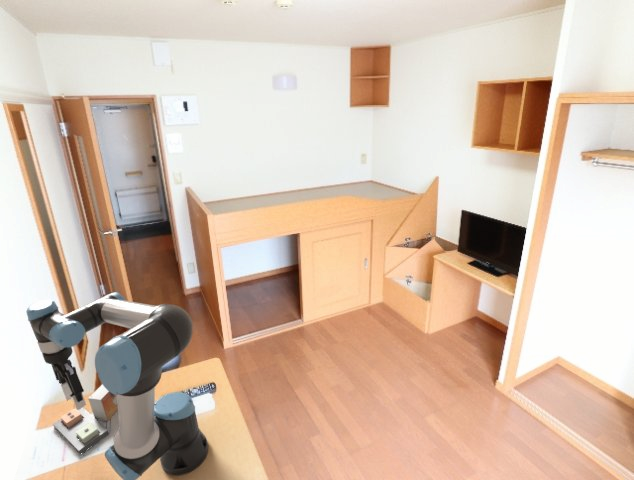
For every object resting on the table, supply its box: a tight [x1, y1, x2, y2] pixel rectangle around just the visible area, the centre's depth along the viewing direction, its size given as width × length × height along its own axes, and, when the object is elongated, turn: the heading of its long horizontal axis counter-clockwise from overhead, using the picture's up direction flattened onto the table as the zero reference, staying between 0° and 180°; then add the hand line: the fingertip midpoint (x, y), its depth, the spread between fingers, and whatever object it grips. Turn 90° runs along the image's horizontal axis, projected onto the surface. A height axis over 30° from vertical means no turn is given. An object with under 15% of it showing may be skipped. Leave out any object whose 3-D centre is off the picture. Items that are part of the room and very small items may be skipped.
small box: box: [87, 383, 118, 422], centre depth 141 cm, size 8×6×10 cm
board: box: [52, 407, 110, 455], centre depth 135 cm, size 20×10×2 cm, turn 55°
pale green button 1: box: [76, 422, 99, 445], centre depth 132 cm, size 5×5×3 cm
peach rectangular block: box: [60, 407, 83, 429], centre depth 138 cm, size 5×5×3 cm
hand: (76, 402), depth 126 cm, fingers open, 7 cm apart
